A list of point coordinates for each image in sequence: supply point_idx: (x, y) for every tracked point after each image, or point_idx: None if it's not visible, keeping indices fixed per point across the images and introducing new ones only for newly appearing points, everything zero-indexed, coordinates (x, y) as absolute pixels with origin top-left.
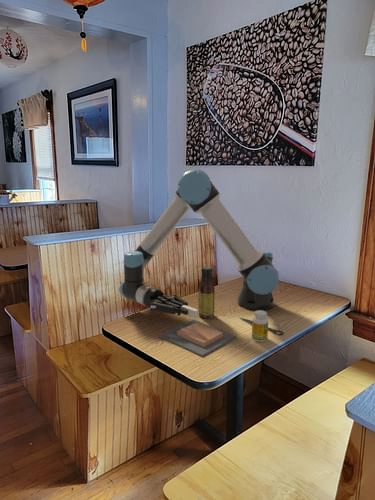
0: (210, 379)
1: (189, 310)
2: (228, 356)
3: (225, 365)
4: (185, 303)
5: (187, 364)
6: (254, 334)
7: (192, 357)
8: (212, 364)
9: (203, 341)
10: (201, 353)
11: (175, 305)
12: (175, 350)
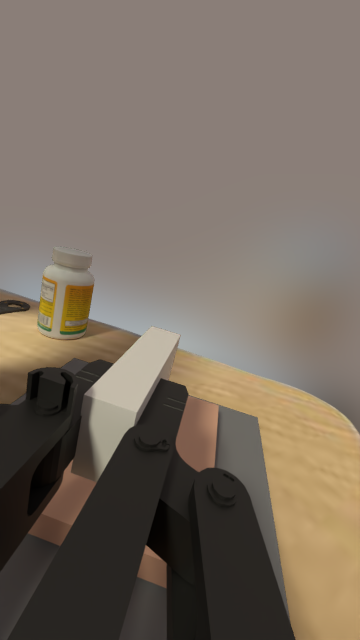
0: (310, 395)
1: (165, 368)
2: (199, 376)
3: (240, 379)
4: (60, 376)
5: (327, 449)
6: (83, 320)
7: (284, 447)
8: (262, 398)
9: (212, 407)
10: (252, 421)
11: (141, 496)
12: (315, 529)
